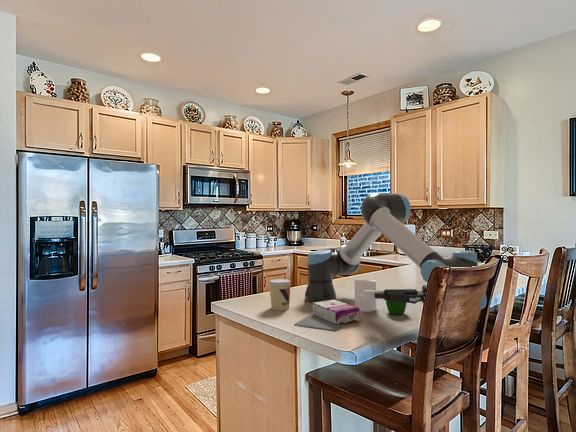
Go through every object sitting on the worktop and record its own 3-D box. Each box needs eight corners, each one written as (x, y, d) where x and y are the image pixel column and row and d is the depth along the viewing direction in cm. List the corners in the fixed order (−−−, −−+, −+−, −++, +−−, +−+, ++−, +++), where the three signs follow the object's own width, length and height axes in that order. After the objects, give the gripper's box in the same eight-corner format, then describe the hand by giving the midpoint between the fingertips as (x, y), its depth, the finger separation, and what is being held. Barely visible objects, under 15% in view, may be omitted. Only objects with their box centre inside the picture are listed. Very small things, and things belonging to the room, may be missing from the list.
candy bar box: (360, 321, 132) (335, 310, 147) (360, 307, 132) (335, 298, 147) (335, 325, 127) (312, 314, 142) (335, 311, 127) (312, 302, 142)
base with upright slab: (356, 311, 147) (356, 282, 147) (353, 306, 156) (353, 279, 156) (378, 311, 147) (377, 282, 147) (374, 306, 156) (373, 278, 156)
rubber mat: (294, 325, 130) (294, 324, 130) (312, 313, 145) (312, 312, 145) (335, 331, 122) (335, 329, 122) (350, 318, 137) (350, 317, 137)
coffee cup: (283, 312, 148) (283, 283, 148) (265, 309, 153) (265, 281, 153) (294, 307, 156) (294, 279, 156) (277, 304, 161) (277, 278, 161)
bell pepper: (394, 309, 149) (394, 285, 149) (411, 313, 142) (410, 289, 142) (380, 312, 145) (380, 288, 145) (396, 317, 138) (396, 291, 138)
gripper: (431, 282, 128) (364, 280, 133) (438, 289, 115) (364, 287, 120) (431, 302, 128) (365, 300, 133) (438, 312, 115) (364, 309, 120)
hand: (364, 294), depth 127 cm, fingers closed
